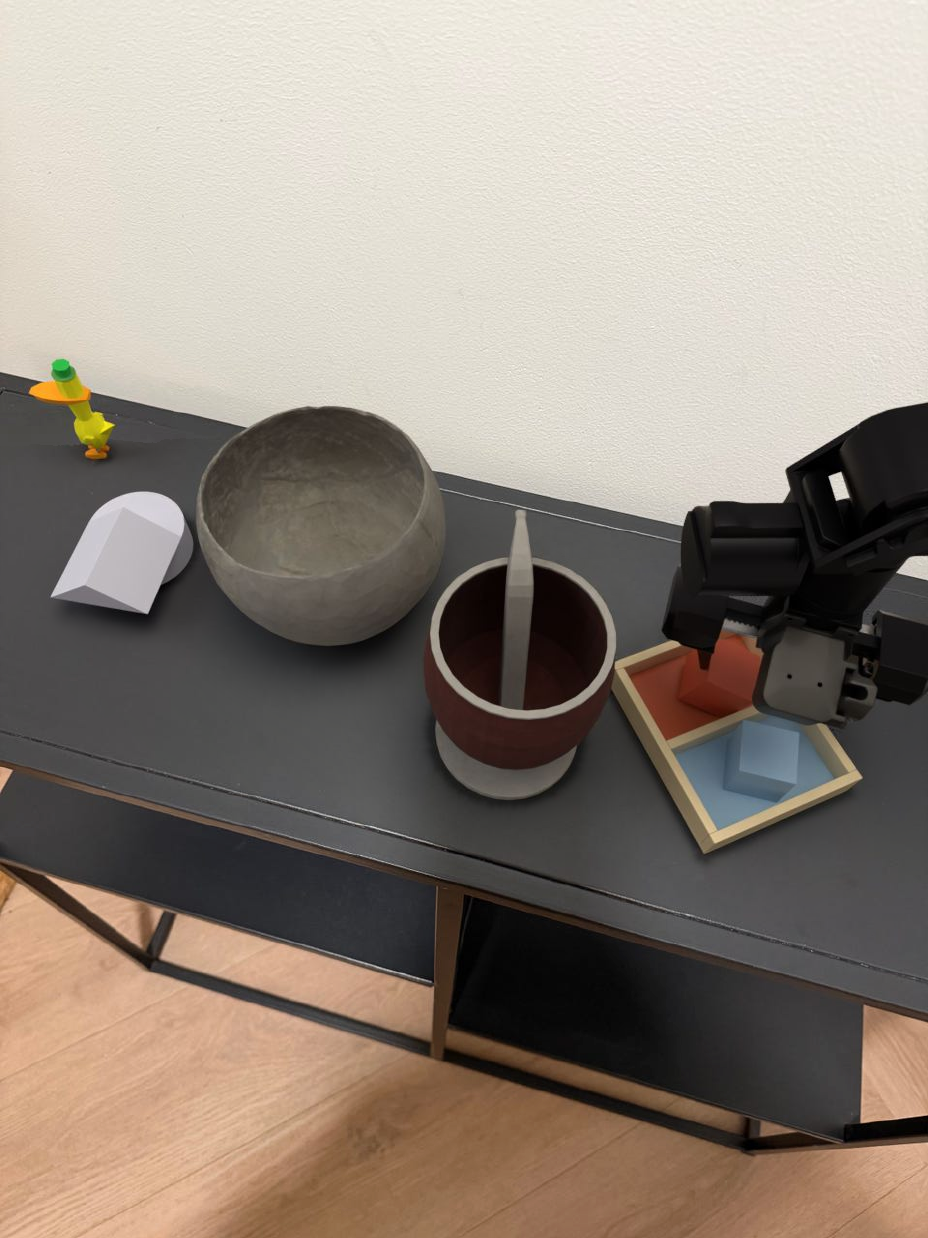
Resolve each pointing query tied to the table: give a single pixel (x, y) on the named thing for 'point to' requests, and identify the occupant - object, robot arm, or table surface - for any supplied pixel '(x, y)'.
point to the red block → (720, 679)
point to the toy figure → (76, 407)
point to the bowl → (322, 524)
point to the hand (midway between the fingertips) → (759, 680)
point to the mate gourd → (517, 671)
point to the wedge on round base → (127, 553)
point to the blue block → (761, 761)
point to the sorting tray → (718, 748)
